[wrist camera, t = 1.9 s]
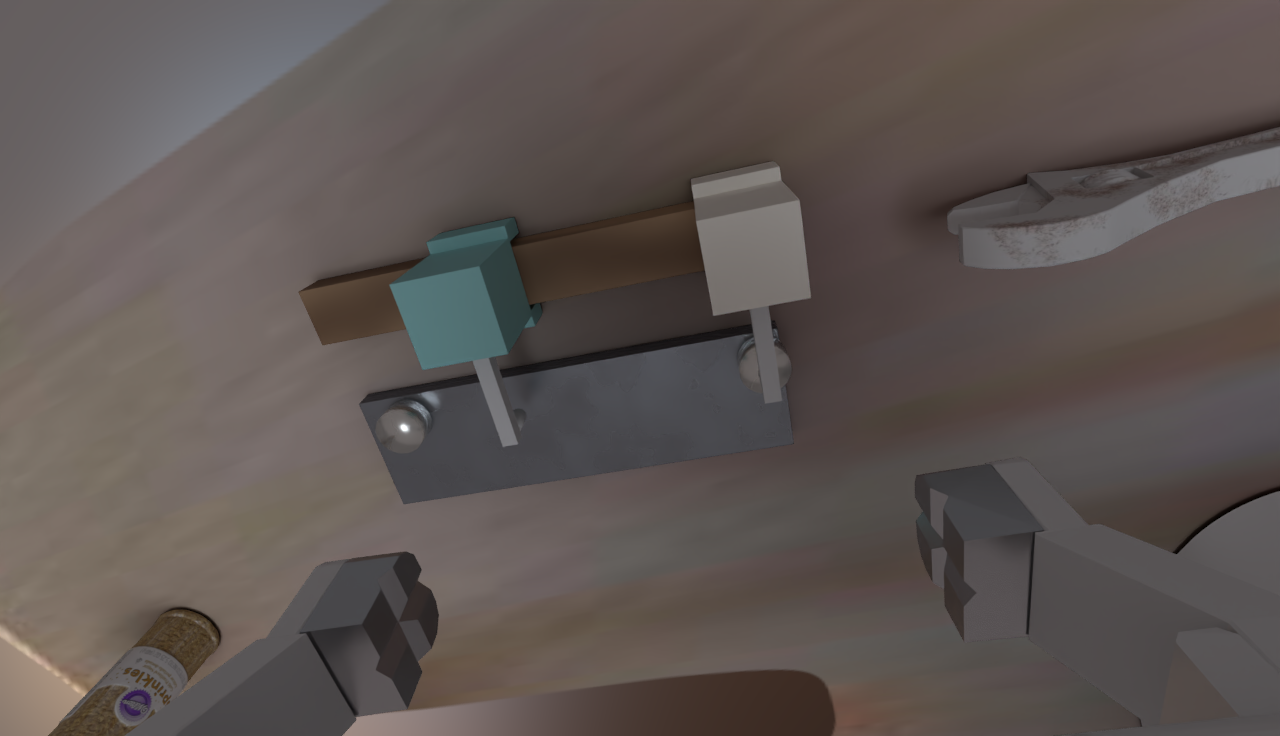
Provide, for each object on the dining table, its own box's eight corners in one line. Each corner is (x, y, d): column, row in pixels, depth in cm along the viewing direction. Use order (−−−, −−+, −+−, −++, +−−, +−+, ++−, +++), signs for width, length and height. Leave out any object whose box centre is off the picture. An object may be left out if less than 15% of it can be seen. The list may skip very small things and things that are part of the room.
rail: (763, 247, 32) (768, 257, 31) (340, 331, 36) (322, 345, 34) (755, 187, 31) (760, 195, 29) (318, 280, 35) (298, 292, 33)
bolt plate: (795, 432, 37) (804, 457, 34) (411, 492, 40) (393, 519, 38) (780, 319, 34) (787, 338, 32) (368, 394, 37) (346, 416, 35)
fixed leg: (798, 350, 35) (824, 412, 28) (724, 363, 35) (733, 427, 29) (773, 160, 31) (797, 183, 24) (690, 178, 31) (693, 205, 25)
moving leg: (566, 391, 36) (542, 457, 30) (499, 403, 37) (462, 470, 31) (514, 217, 32) (474, 251, 26) (440, 233, 33) (383, 271, 27)
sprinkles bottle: (232, 630, 46) (72, 830, 34) (205, 661, 48) (42, 863, 36) (174, 595, 45) (-13, 789, 33) (148, 629, 47) (-40, 826, 34)
